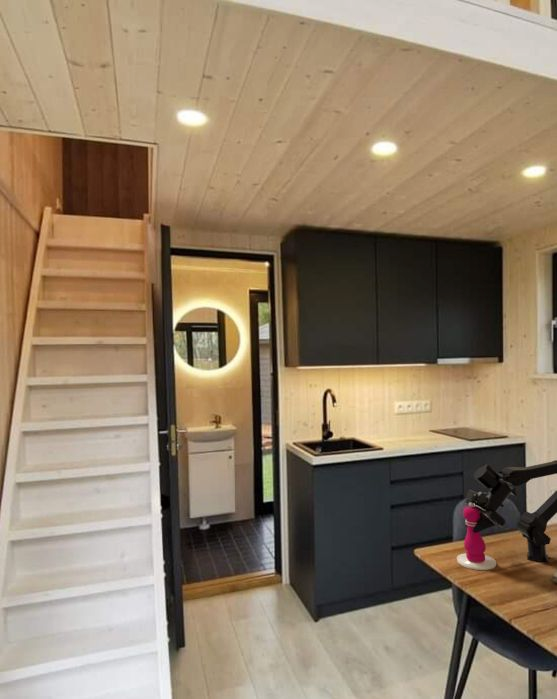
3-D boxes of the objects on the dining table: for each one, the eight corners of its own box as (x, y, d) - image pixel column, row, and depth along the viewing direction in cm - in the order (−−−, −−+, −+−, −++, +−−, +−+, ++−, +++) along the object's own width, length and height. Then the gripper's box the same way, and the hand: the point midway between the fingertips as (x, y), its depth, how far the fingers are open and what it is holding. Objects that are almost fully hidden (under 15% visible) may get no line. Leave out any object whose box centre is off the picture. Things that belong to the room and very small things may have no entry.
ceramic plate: (460, 552, 164) (460, 550, 164) (497, 558, 158) (497, 556, 158) (454, 566, 153) (453, 563, 153) (494, 572, 147) (494, 570, 147)
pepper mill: (470, 563, 152) (465, 505, 154) (461, 555, 159) (457, 500, 161) (490, 562, 152) (485, 504, 154) (481, 554, 159) (476, 499, 161)
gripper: (467, 476, 167) (442, 507, 166) (493, 488, 149) (465, 523, 147) (488, 495, 167) (464, 527, 166) (517, 509, 148) (490, 544, 147)
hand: (470, 529), depth 156 cm, fingers closed on pepper mill, 5 cm apart
